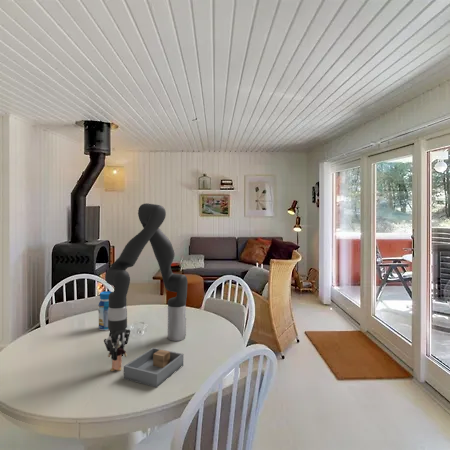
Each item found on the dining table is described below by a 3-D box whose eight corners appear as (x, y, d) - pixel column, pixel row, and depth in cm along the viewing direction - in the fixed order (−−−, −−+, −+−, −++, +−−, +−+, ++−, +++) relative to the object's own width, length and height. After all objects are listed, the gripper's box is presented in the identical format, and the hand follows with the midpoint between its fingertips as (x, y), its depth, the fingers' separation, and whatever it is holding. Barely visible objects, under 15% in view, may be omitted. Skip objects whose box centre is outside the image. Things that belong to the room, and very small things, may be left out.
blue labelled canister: (111, 331, 182) (111, 294, 182) (95, 330, 183) (95, 294, 182) (116, 325, 191) (116, 290, 190) (101, 325, 191) (101, 290, 190)
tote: (153, 358, 150) (153, 347, 150) (183, 365, 144) (183, 354, 144) (123, 378, 132) (123, 366, 132) (156, 387, 126) (156, 374, 126)
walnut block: (160, 360, 146) (160, 349, 146) (169, 363, 144) (170, 351, 144) (153, 365, 142) (153, 353, 141) (163, 368, 140) (163, 356, 139)
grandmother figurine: (107, 372, 137) (107, 342, 136) (108, 368, 141) (107, 338, 140) (127, 370, 139) (127, 340, 138) (127, 366, 143) (127, 337, 142)
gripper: (112, 323, 131) (112, 367, 132) (135, 313, 144) (135, 353, 145) (97, 320, 134) (98, 363, 135) (121, 311, 147) (121, 349, 148)
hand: (117, 357), depth 140 cm, fingers closed on grandmother figurine, 3 cm apart
